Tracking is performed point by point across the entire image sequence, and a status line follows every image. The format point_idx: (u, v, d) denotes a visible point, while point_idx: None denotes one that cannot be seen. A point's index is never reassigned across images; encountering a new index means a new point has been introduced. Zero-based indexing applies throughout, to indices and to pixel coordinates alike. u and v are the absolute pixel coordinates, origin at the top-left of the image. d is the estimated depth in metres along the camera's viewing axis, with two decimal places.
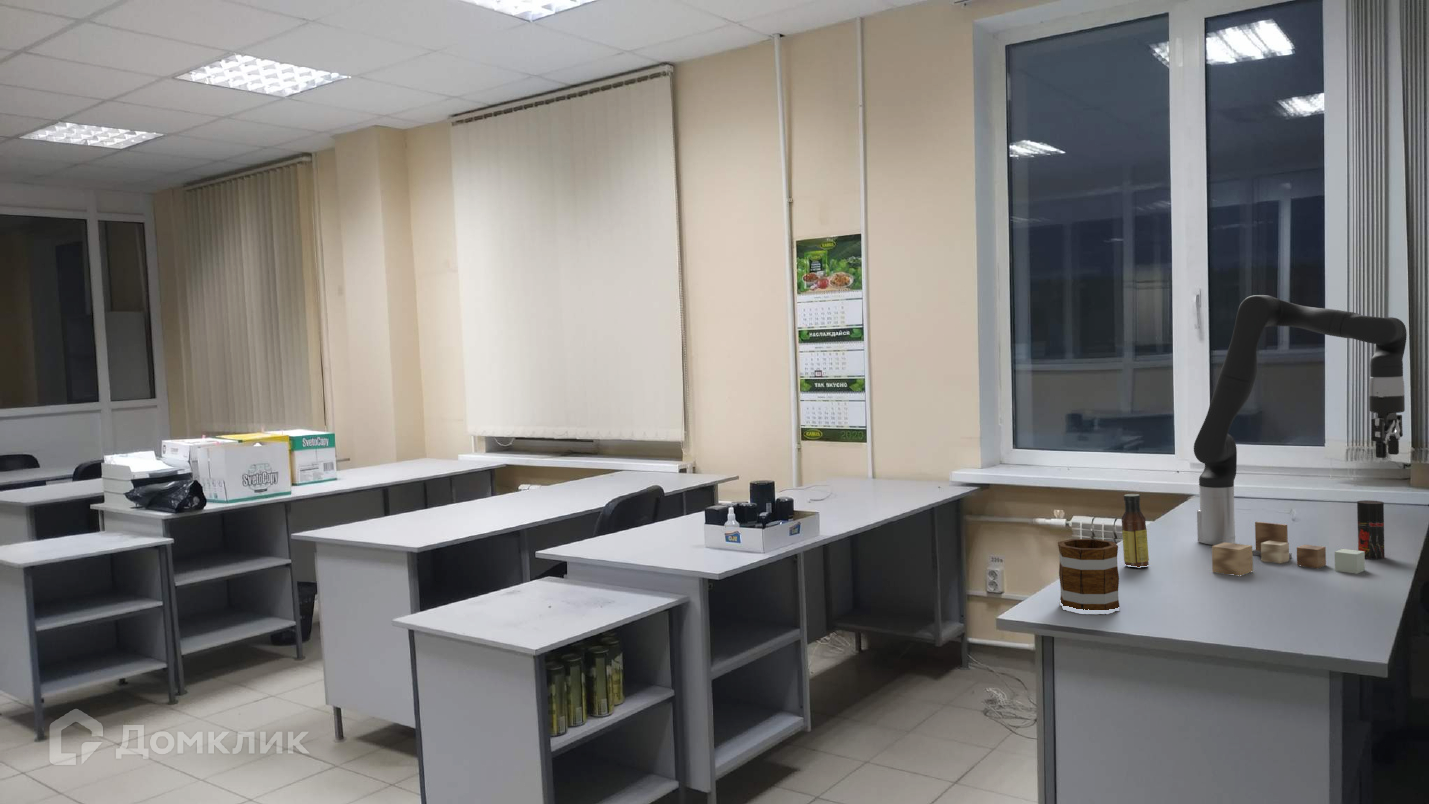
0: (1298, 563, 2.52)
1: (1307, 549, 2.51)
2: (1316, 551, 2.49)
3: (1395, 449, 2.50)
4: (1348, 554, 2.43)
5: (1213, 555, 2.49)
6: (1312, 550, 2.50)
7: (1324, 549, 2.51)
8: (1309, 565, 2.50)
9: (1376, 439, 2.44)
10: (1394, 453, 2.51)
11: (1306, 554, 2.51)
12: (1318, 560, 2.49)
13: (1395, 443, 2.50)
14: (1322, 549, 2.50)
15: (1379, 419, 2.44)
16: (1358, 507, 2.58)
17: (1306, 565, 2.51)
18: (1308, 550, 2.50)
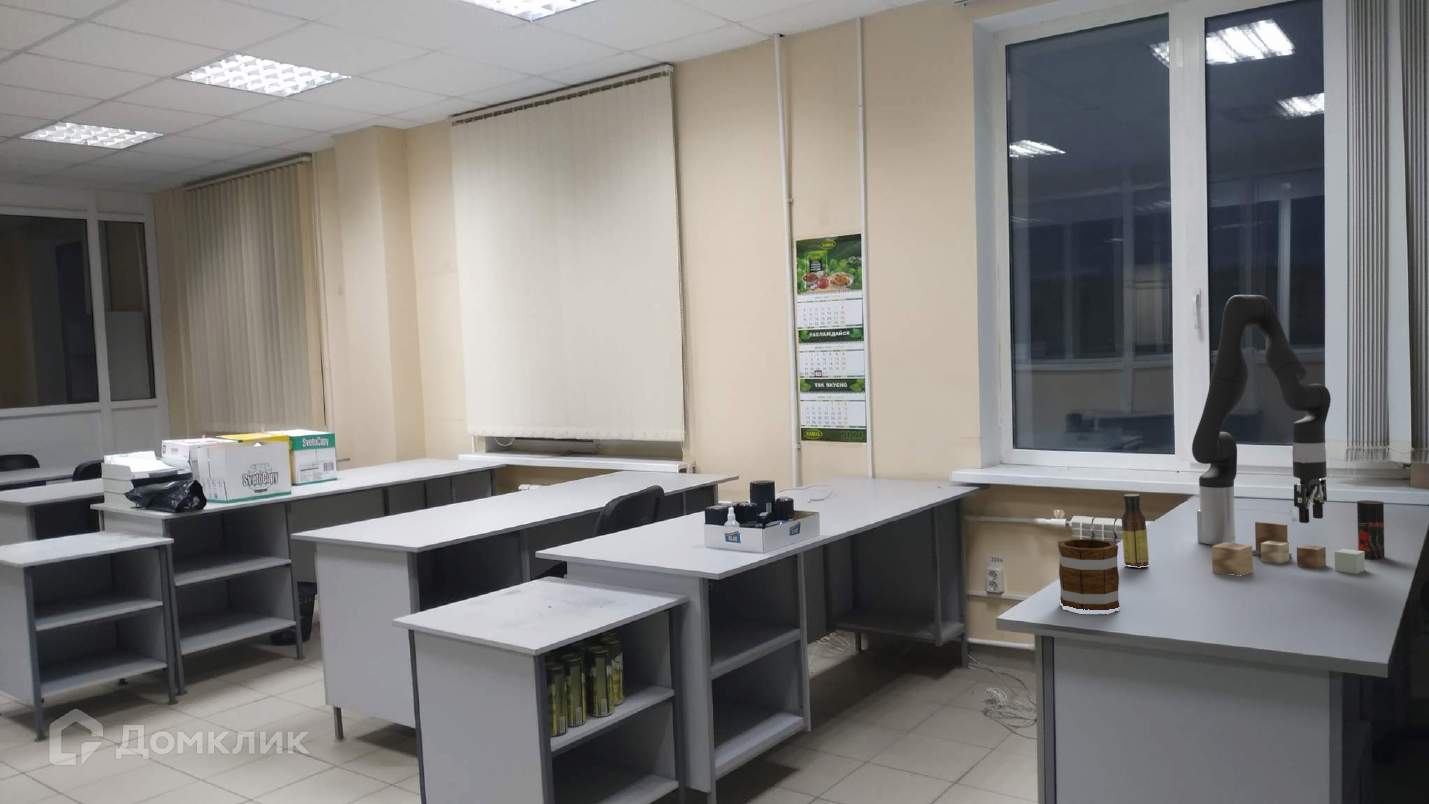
0: (1298, 563, 2.52)
1: (1307, 549, 2.51)
2: (1316, 551, 2.49)
3: (1319, 513, 2.53)
4: (1348, 554, 2.43)
5: (1213, 555, 2.49)
6: (1312, 550, 2.50)
7: (1324, 549, 2.51)
8: (1309, 565, 2.50)
9: (1298, 505, 2.47)
10: (1318, 517, 2.54)
11: (1306, 554, 2.51)
12: (1318, 560, 2.49)
13: (1319, 507, 2.53)
14: (1322, 549, 2.50)
15: (1301, 485, 2.47)
16: (1358, 507, 2.58)
17: (1306, 565, 2.51)
18: (1308, 550, 2.50)
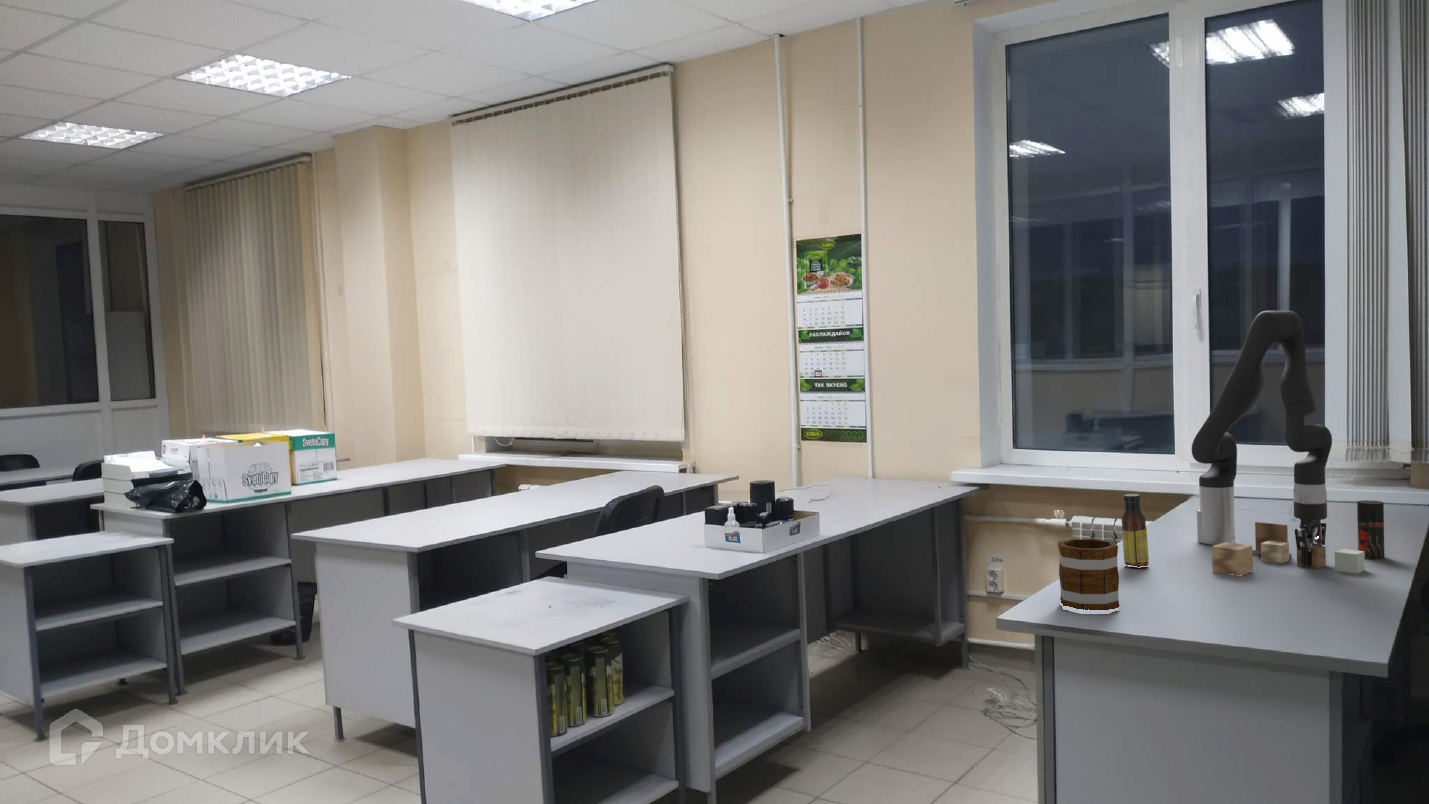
0: (1298, 563, 2.52)
1: None
2: (1316, 551, 2.49)
3: None
4: (1348, 554, 2.43)
5: (1213, 555, 2.49)
6: (1312, 550, 2.50)
7: (1325, 549, 2.51)
8: None
9: (1301, 548, 2.49)
10: None
11: None
12: (1318, 559, 2.49)
13: None
14: (1322, 549, 2.50)
15: (1301, 531, 2.47)
16: (1358, 507, 2.58)
17: None
18: None
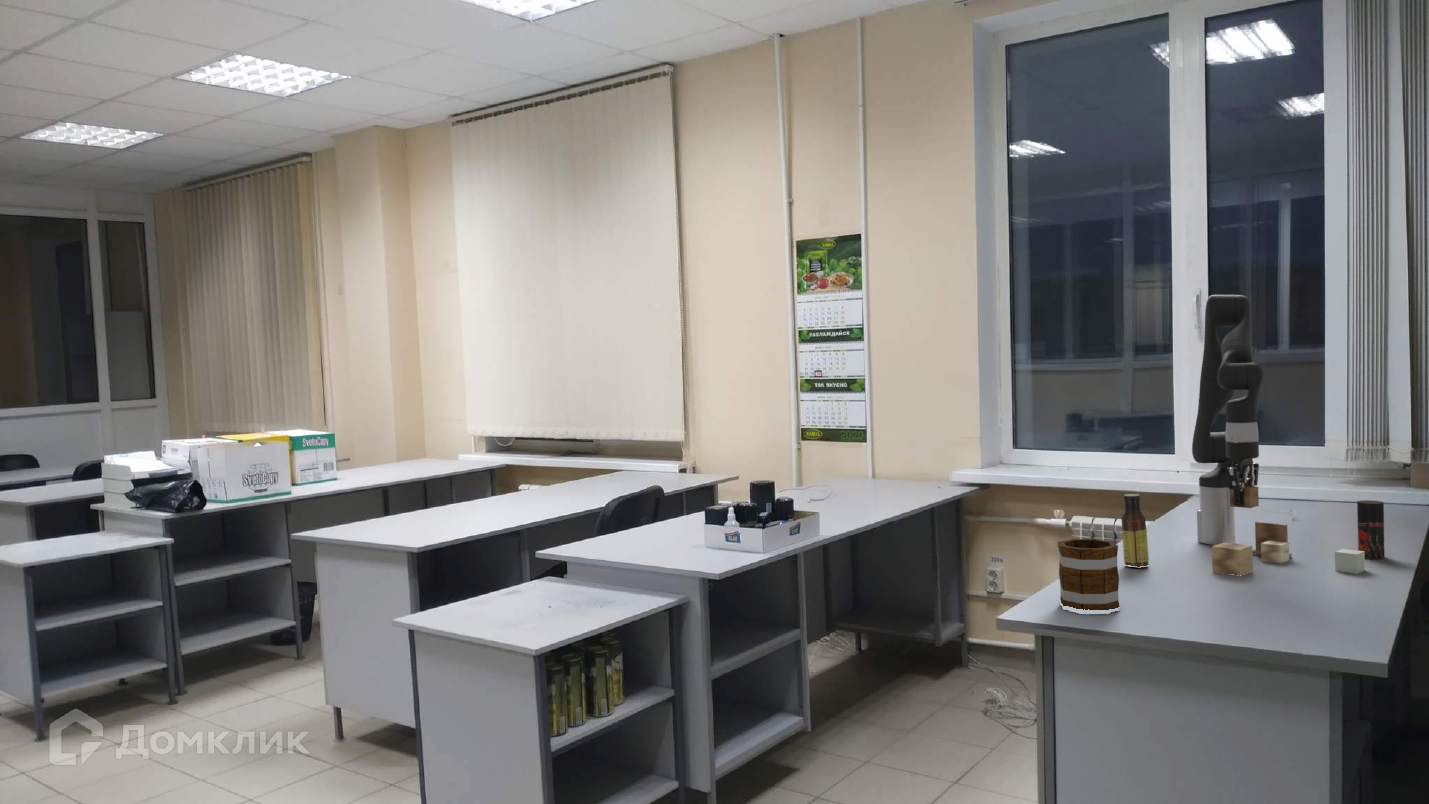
0: (1231, 503, 2.48)
1: None
2: (1248, 490, 2.45)
3: None
4: (1348, 554, 2.43)
5: (1213, 555, 2.49)
6: (1245, 489, 2.46)
7: (1257, 489, 2.47)
8: None
9: (1233, 487, 2.45)
10: None
11: None
12: (1251, 499, 2.45)
13: None
14: (1255, 489, 2.47)
15: (1233, 469, 2.43)
16: (1358, 507, 2.58)
17: None
18: None
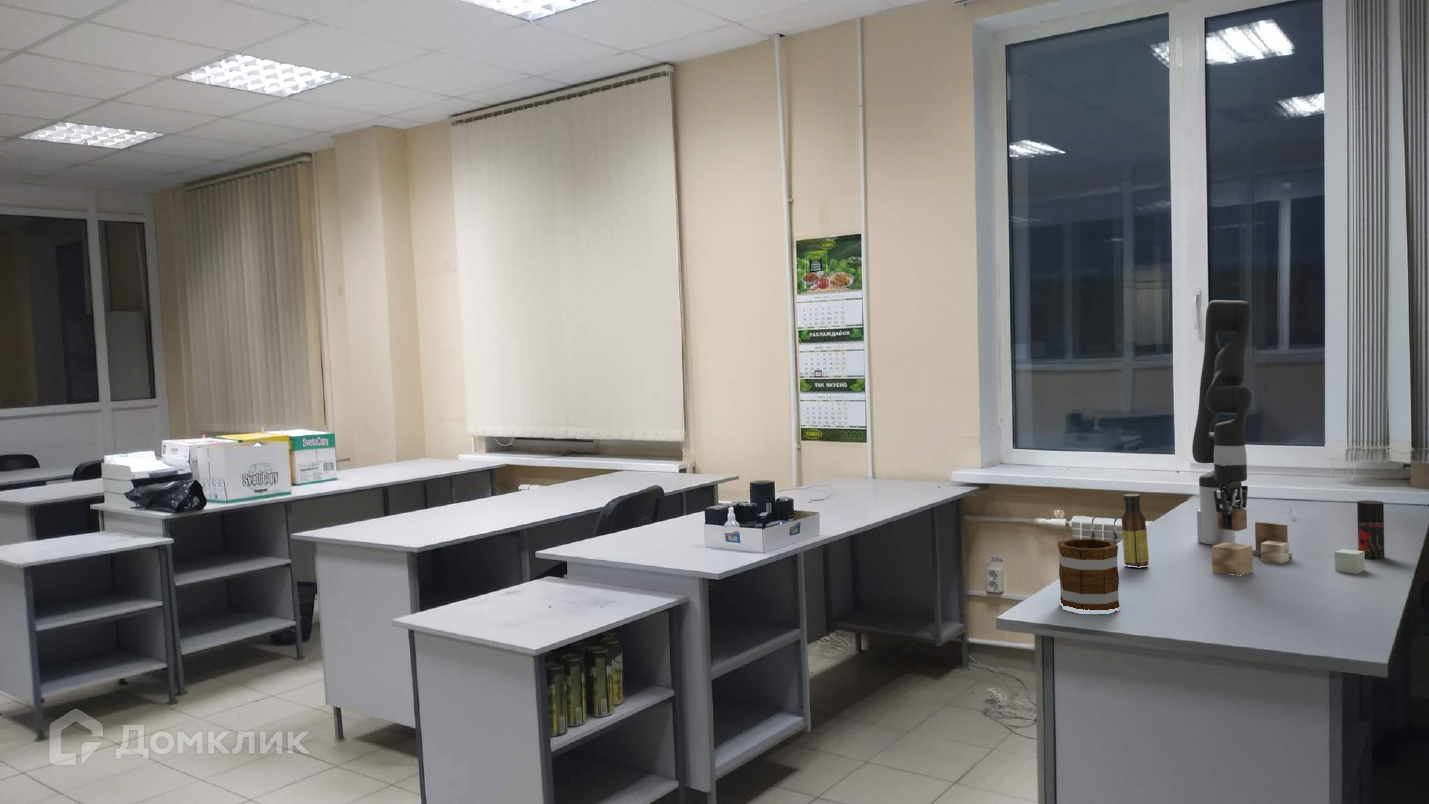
0: (1219, 526, 2.49)
1: None
2: (1236, 513, 2.45)
3: None
4: (1348, 554, 2.43)
5: (1213, 555, 2.49)
6: (1232, 512, 2.46)
7: (1245, 511, 2.48)
8: None
9: (1220, 510, 2.45)
10: None
11: None
12: (1238, 522, 2.45)
13: None
14: (1243, 511, 2.47)
15: (1220, 493, 2.44)
16: (1358, 507, 2.58)
17: None
18: None
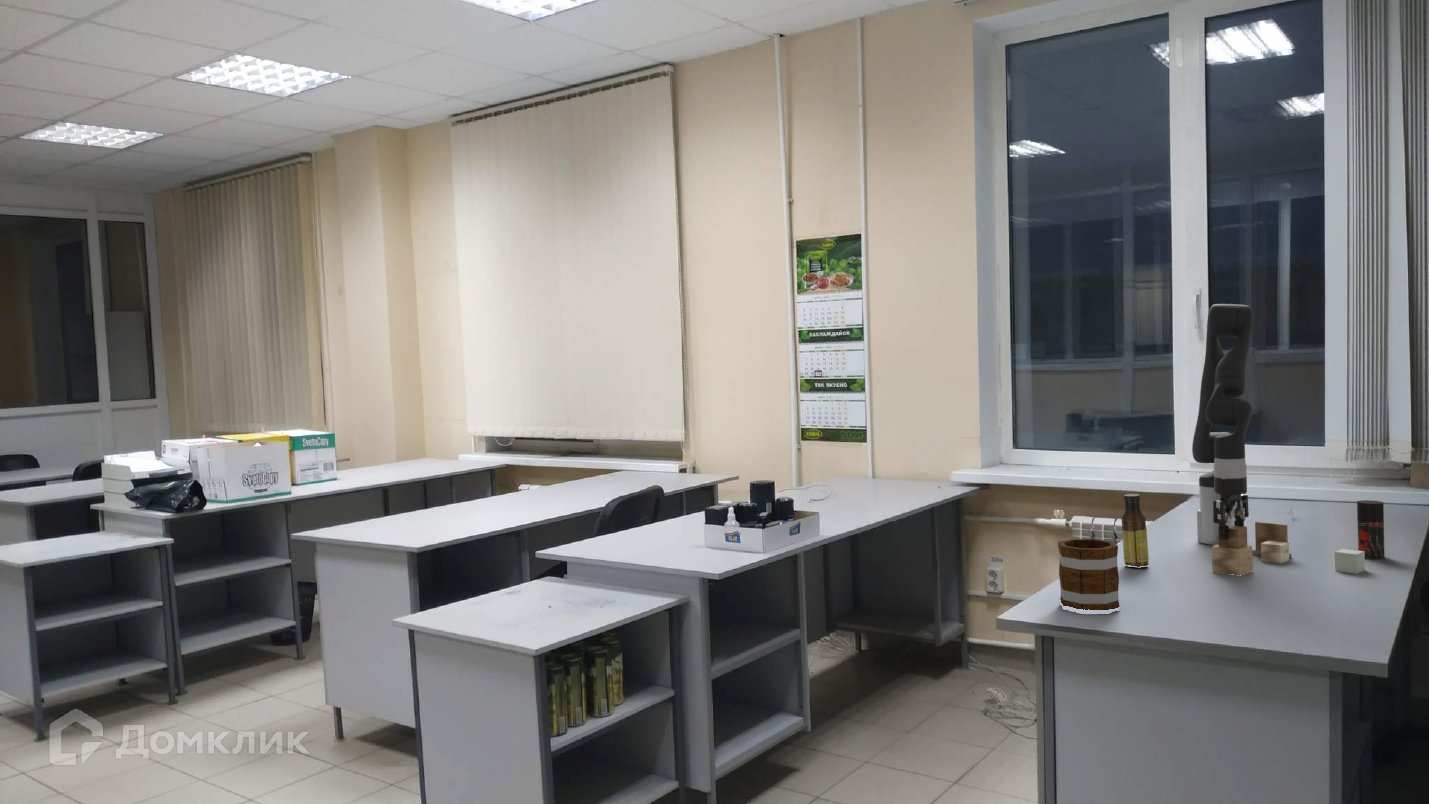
0: (1219, 543, 2.49)
1: None
2: (1237, 531, 2.45)
3: None
4: (1348, 554, 2.43)
5: (1213, 555, 2.49)
6: (1233, 530, 2.46)
7: (1246, 529, 2.48)
8: (1230, 545, 2.47)
9: (1217, 521, 2.45)
10: None
11: None
12: (1239, 539, 2.46)
13: (1240, 524, 2.51)
14: (1243, 529, 2.47)
15: (1220, 502, 2.44)
16: (1358, 507, 2.58)
17: (1227, 545, 2.47)
18: (1229, 530, 2.47)
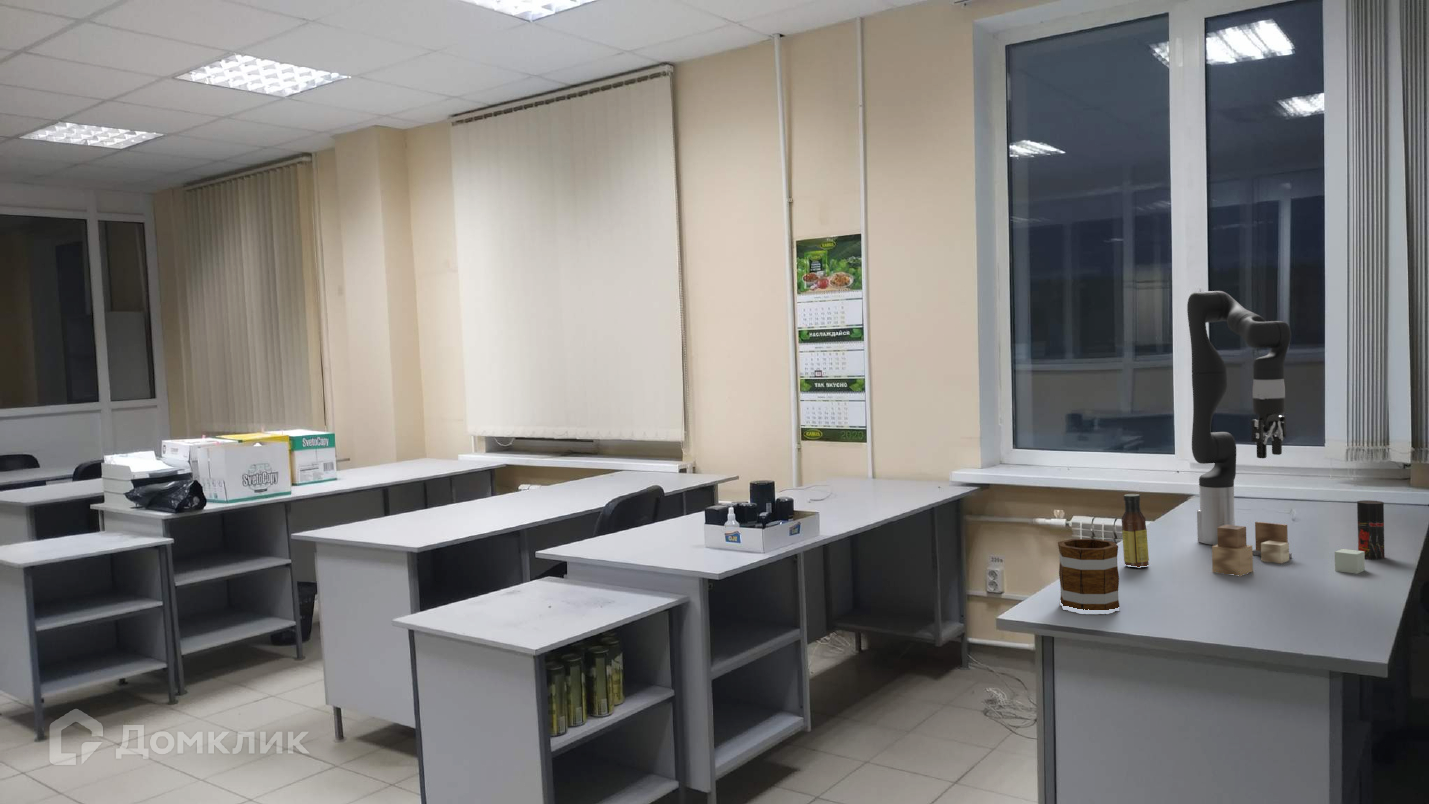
0: (1219, 543, 2.49)
1: (1227, 529, 2.47)
2: (1236, 531, 2.45)
3: (1278, 449, 2.57)
4: (1348, 554, 2.43)
5: (1213, 555, 2.49)
6: (1232, 530, 2.46)
7: (1245, 529, 2.48)
8: (1229, 545, 2.47)
9: (1255, 440, 2.51)
10: (1277, 453, 2.57)
11: (1226, 534, 2.47)
12: (1238, 539, 2.46)
13: (1278, 444, 2.57)
14: (1242, 529, 2.47)
15: (1258, 421, 2.50)
16: (1358, 507, 2.58)
17: (1226, 545, 2.48)
18: (1228, 530, 2.47)
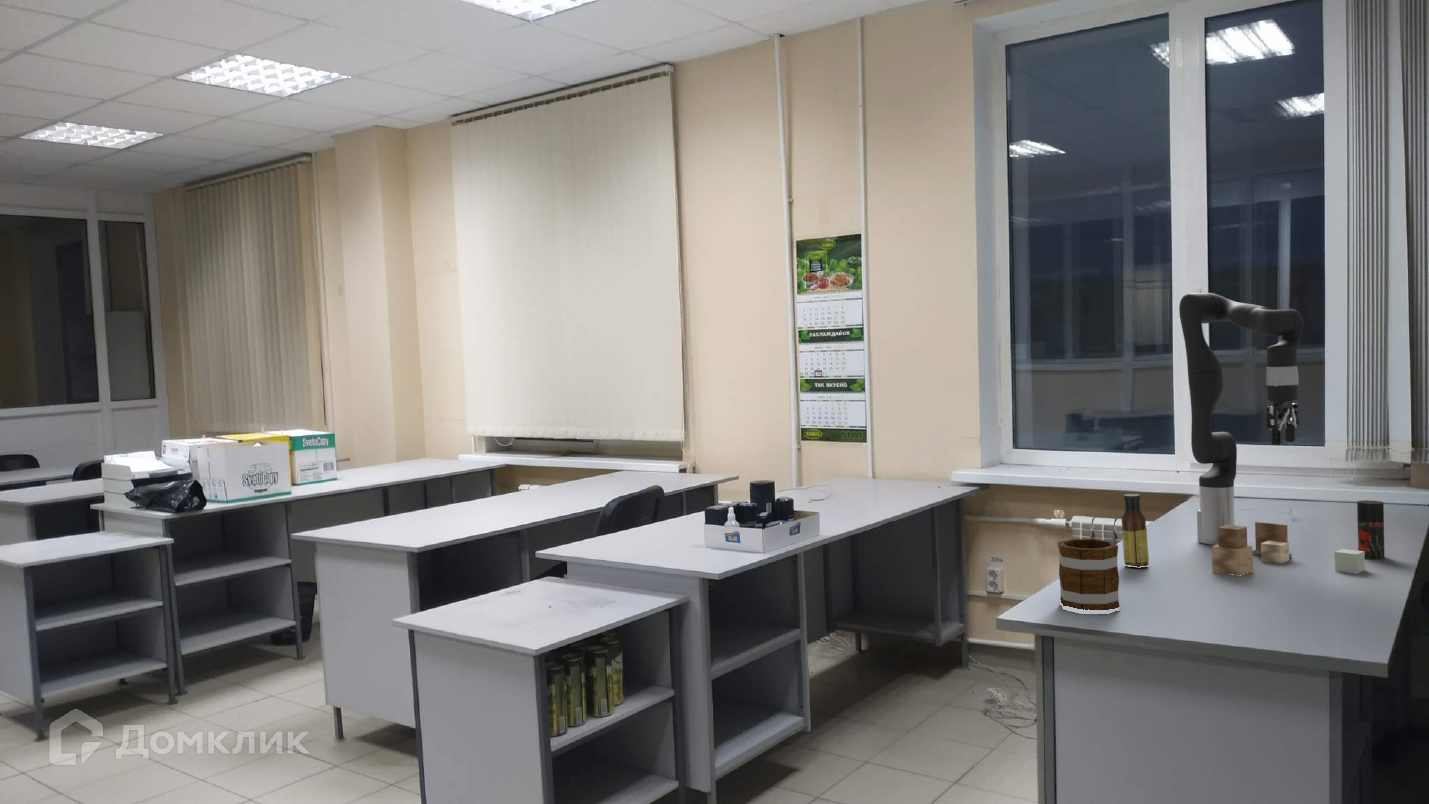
0: (1219, 543, 2.49)
1: (1228, 529, 2.47)
2: (1237, 531, 2.45)
3: (1292, 436, 2.60)
4: (1348, 554, 2.43)
5: (1213, 555, 2.49)
6: (1233, 530, 2.46)
7: (1246, 529, 2.48)
8: (1230, 545, 2.47)
9: (1271, 426, 2.53)
10: (1291, 440, 2.60)
11: (1227, 534, 2.47)
12: (1239, 539, 2.46)
13: (1291, 431, 2.60)
14: (1243, 529, 2.47)
15: (1273, 407, 2.53)
16: (1358, 507, 2.58)
17: (1227, 545, 2.47)
18: (1229, 530, 2.47)
